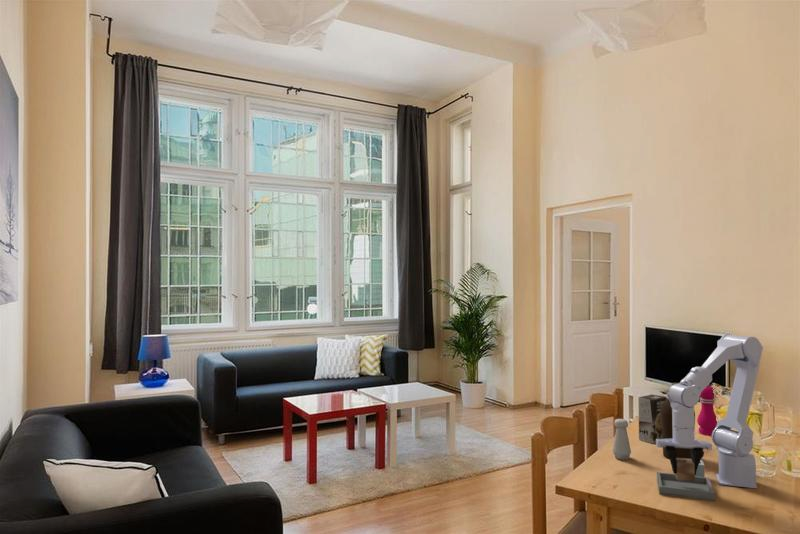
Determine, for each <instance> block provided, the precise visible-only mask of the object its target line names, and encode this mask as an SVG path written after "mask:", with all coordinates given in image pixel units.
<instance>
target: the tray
mask: <svg viewBox="0 0 800 534" xmlns="http://www.w3.org/2000/svg"><path fill="white" fill-rule="evenodd" d="M656 482H657V489H658V494H659V495H661V496H663V495H664V496H671V497H672V496H673V497H678V498H679V497H680V498H687V499H697V500H702V501H703V500H704V501H705V500H706V501H711V500H712V501H713V502H715V501H716V493H715V490H714V488H713V485H712V483H711V480H710V477H698V476H695V481H682V480H677V478H676V477H675V476H674V473H669V472H661V471H659V472H658V471H656Z"/></svg>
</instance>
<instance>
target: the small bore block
mask: <svg viewBox="0 0 800 534" xmlns="http://www.w3.org/2000/svg"><path fill="white" fill-rule="evenodd" d="M676 466H677V474H676V473H673V474H674V476H675V477H676V478H677V480H682V481H695V467H694V463H693V462H692V460H691V459H687V458H676Z"/></svg>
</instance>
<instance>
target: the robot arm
mask: <svg viewBox="0 0 800 534" xmlns="http://www.w3.org/2000/svg"><path fill="white" fill-rule="evenodd" d="M716 343H717V347H716V348H715V349H714V350H713V351H712V352H711V354H710V355H709V356H708V358H707V359H706V360H705V361H704V362H703V364H702V365H701V366H695V367H692V368H691V369H690V371H689V372H688V373H687V374H686V376H685V377H683V378H682V379H681V380H680V382H678V383H679V384H674V385H673V386H672V385H671V386H670V387H669V389H668V392H667V393H666V397H667V398H668V399H669V401H670V403H671V408H672V426H673V438H672V439H656V443H655V447H657V448H663V447H664V448H665V450H666V452H667V454H668V456H669V459H668V460H669V461H670V464H671V469H672V470H671V471H672V472H673V473H672V474H674V473H676V474H677V466H676V457H677V452H676V449H675V448H690V450H691V460H692V462H693V463H694V467H695V475H696V471H697V467H698V465H699V462H700V460H702V459H703V457H704V455H705V451H704V450H707V451H713V445H715V446H716V447H715V448H716V450H717V451H718V452H717V453H718V473H716V474H715V477H716V479H717V481H718V484H719V485H721V486H722V485H723V486H731V487H740V488H747V489H748V488H749V489H757V488H758V487H757V465H756V458H755V455H754V454H752V453H751V452H752V450H753V447H754V441H753V435H754V431H753V430H752V428H751V427H750V426H749V425H748V424H747V421H748V418H749V414H750V408H751V404H752V401H753V400H752V399H753V395H754V390H755V385H756V382H757V378H758V373H759V370H760V369H759V368H760V361H761V356H762V353H763V349H764V347H763V345H762V344H761V342H760V340H759V338H757V337H755V336H747V335H746V336H745V335H738V334H732V333H724V334H723V335H721V337H720V339H718V340H717V342H716ZM729 360H730V361H731V362H733V363H734V364H735V366H736V371H735V376H734V380H733V384H732V388H731V392H730V393H731V394H730V397H729V401H728V406H727V411H726V414H725V417H723V418H721V419H718V422H717V426H716V428H715V429H714V431H713V433H712V436H711V441H712V442H711V441H705V440H698V439H695V438H696V437H695V432H694V411H695V406H696V405H697V404H698V403H699V402H700V397H701V396H700V395H701V392H702V391H703V390H704V389H705V387H706V386H707V385H708V384H710V383H711V382H712V381H713V374H714V373H716V372H717V371H718V370H719V369H720V368H721V367H722V366H723V365H725V364H726V363H727V362H728V361H729Z"/></svg>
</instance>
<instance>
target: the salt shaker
mask: <svg viewBox="0 0 800 534" xmlns="http://www.w3.org/2000/svg"><path fill="white" fill-rule="evenodd" d="M613 424H614V426H615V435H614V440H613V444H612V452H613V453H612V454H613V455H614V457H615V459H618V460H622V461H624V460H628V459H629V458H630V456H631V453H632V450H631V445H630V440H629V435H628V431H627V428H628V426H629V421H627V420H626V419H624V418H616V419H615V420H614V423H613Z"/></svg>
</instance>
